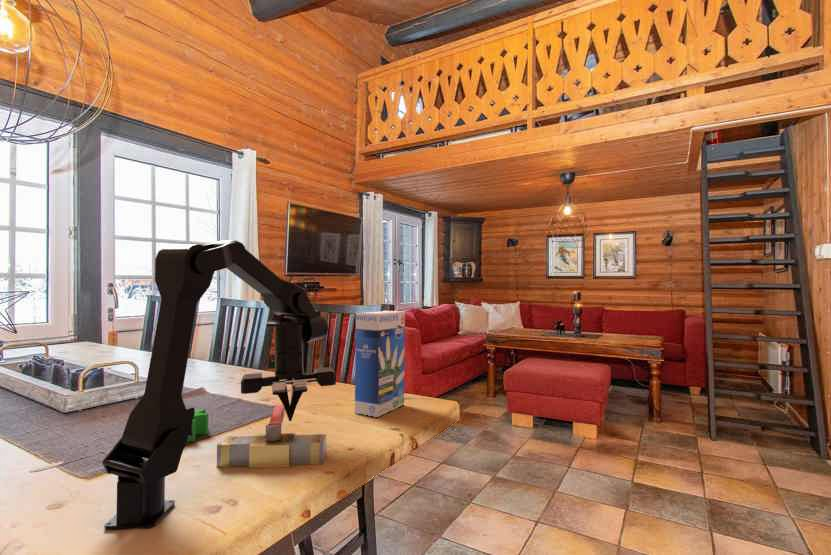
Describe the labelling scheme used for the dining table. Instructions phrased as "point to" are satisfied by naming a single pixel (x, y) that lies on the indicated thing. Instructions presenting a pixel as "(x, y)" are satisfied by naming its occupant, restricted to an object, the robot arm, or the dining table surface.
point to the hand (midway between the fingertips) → (290, 420)
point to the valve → (271, 451)
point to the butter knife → (45, 467)
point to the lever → (275, 424)
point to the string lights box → (379, 362)
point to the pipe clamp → (199, 424)
